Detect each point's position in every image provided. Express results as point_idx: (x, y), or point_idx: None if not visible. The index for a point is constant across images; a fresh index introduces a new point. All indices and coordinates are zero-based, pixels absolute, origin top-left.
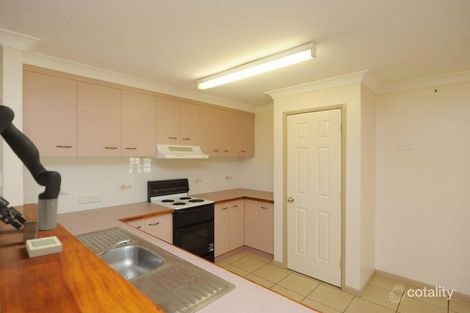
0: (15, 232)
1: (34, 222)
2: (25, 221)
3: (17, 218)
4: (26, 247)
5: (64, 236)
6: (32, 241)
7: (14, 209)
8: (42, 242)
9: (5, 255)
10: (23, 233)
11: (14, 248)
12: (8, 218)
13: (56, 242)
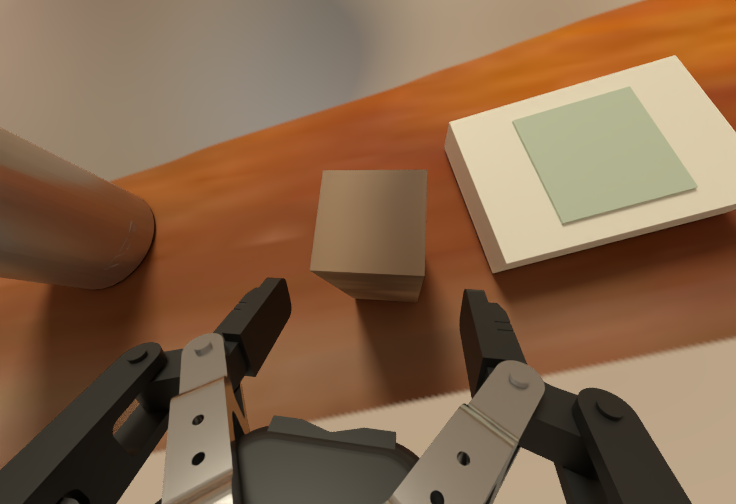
0: None
1: (426, 185)
2: (278, 292)
3: (237, 377)
4: (529, 262)
5: (332, 128)
6: (544, 222)
7: (21, 495)
8: (601, 158)
9: (631, 353)
10: (418, 293)
11: None
12: (666, 474)
13: (609, 92)
